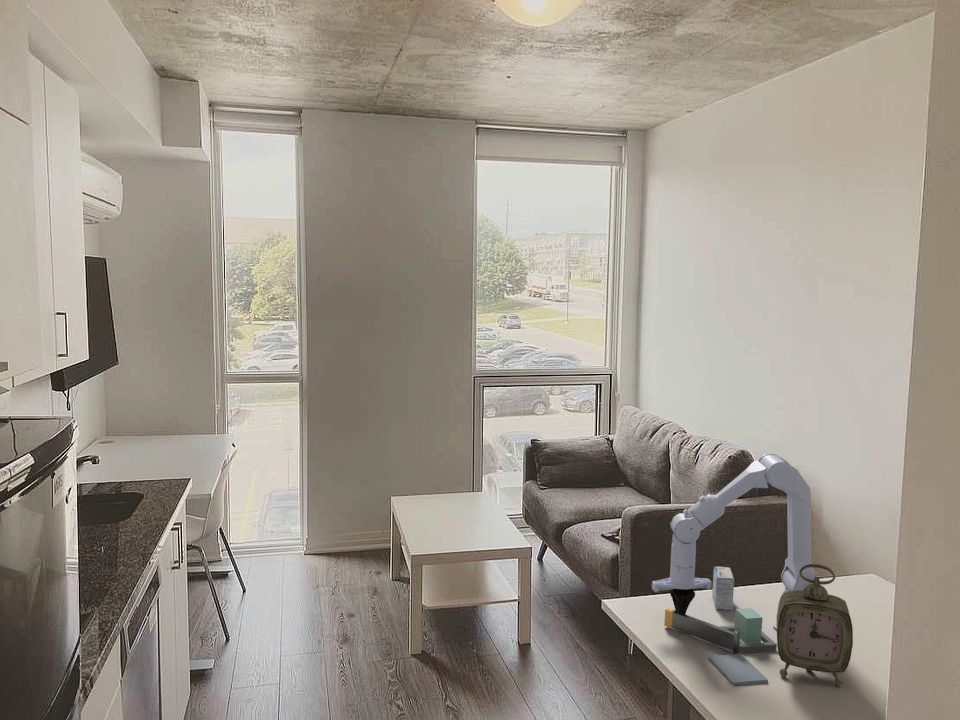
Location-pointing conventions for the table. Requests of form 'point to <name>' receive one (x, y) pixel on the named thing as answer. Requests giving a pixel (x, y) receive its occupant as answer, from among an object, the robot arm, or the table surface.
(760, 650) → the dock
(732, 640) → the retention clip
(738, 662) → the mat
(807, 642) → the tabletop clock
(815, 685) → the table surface
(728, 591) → the medicine box
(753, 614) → the plug
